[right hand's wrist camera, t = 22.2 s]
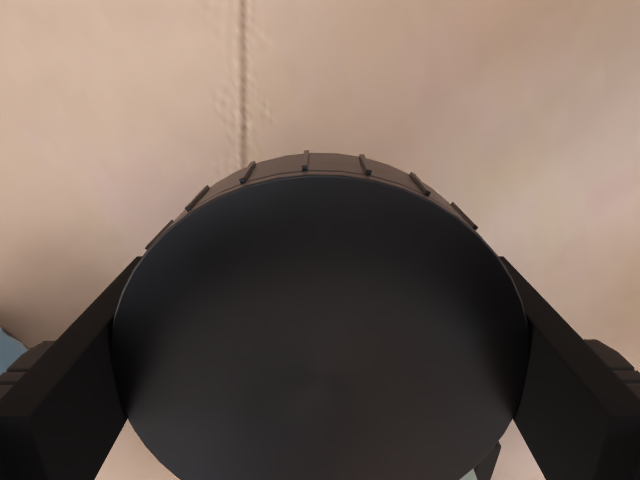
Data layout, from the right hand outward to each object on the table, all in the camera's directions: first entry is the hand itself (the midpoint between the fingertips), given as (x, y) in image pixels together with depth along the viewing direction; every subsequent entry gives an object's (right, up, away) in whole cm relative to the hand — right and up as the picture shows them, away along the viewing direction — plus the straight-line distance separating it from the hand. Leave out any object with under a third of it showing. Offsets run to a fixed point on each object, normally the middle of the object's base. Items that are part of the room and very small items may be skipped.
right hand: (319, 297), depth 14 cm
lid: (0, -1, -3) cm, 4 cm away
